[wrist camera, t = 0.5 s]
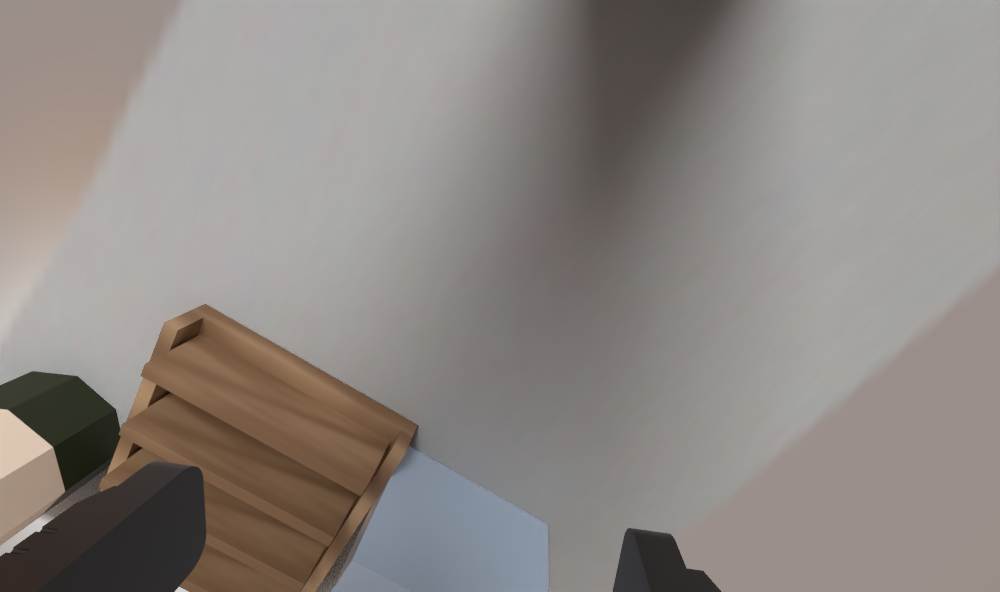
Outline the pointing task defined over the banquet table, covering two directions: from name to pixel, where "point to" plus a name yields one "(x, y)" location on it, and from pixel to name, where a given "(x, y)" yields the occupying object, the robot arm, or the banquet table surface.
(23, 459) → the wine bottle
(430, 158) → the banquet table surface
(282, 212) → the banquet table surface
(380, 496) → the light blue flat block
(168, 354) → the rack
